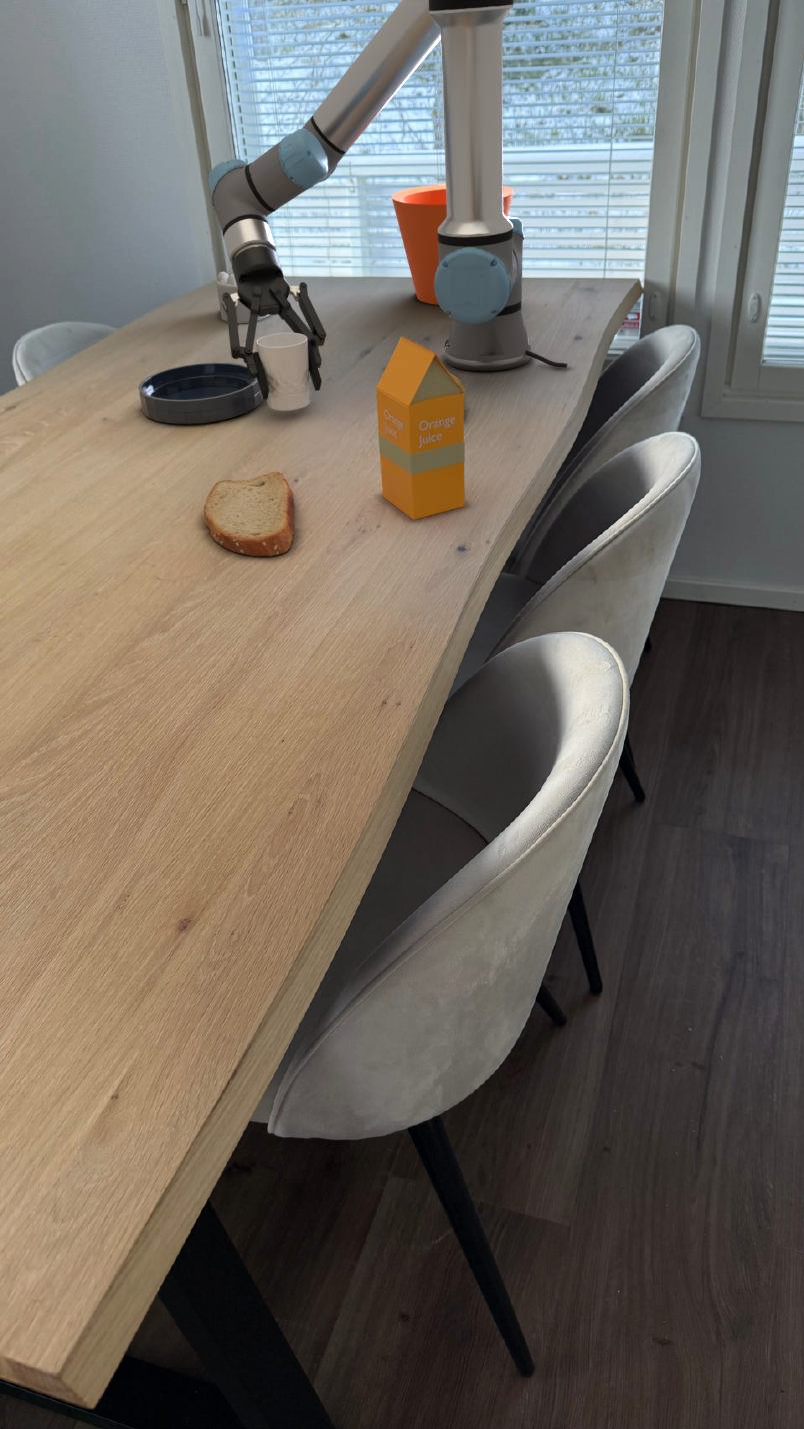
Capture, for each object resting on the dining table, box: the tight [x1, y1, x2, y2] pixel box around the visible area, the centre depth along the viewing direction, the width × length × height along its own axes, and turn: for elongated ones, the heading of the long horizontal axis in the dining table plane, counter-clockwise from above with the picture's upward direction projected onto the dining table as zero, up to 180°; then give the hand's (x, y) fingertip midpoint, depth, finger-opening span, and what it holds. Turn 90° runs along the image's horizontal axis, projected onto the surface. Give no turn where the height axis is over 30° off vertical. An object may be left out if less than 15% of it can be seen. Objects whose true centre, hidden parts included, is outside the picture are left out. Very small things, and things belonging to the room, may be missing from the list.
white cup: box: [255, 332, 311, 412], centre depth 156 cm, size 8×8×10 cm
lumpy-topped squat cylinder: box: [215, 268, 270, 324], centre depth 208 cm, size 10×13×9 cm
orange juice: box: [375, 335, 466, 521], centre depth 124 cm, size 8×9×20 cm
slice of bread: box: [203, 470, 295, 557], centre depth 127 cm, size 18×18×4 cm
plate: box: [137, 362, 263, 425], centre depth 164 cm, size 20×20×4 cm
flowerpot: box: [391, 183, 515, 306], centre depth 210 cm, size 25×25×20 cm
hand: (292, 390), depth 154 cm, fingers closed on white cup, 8 cm apart
